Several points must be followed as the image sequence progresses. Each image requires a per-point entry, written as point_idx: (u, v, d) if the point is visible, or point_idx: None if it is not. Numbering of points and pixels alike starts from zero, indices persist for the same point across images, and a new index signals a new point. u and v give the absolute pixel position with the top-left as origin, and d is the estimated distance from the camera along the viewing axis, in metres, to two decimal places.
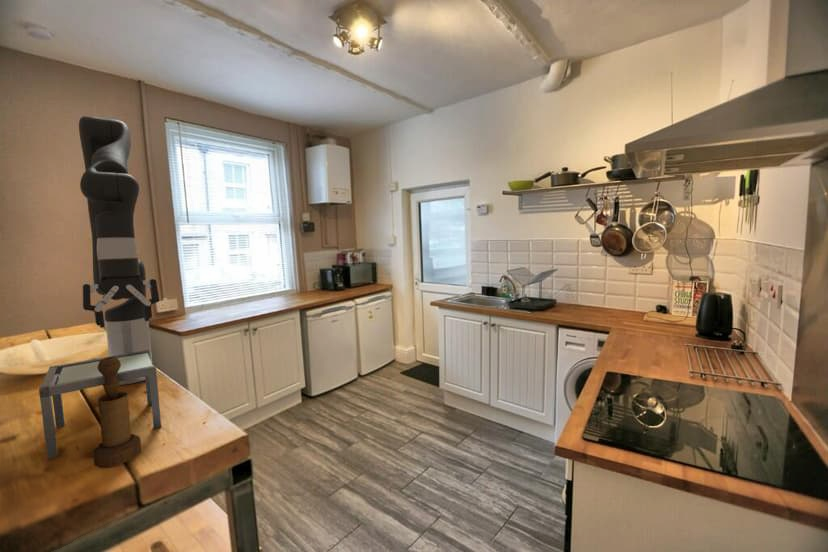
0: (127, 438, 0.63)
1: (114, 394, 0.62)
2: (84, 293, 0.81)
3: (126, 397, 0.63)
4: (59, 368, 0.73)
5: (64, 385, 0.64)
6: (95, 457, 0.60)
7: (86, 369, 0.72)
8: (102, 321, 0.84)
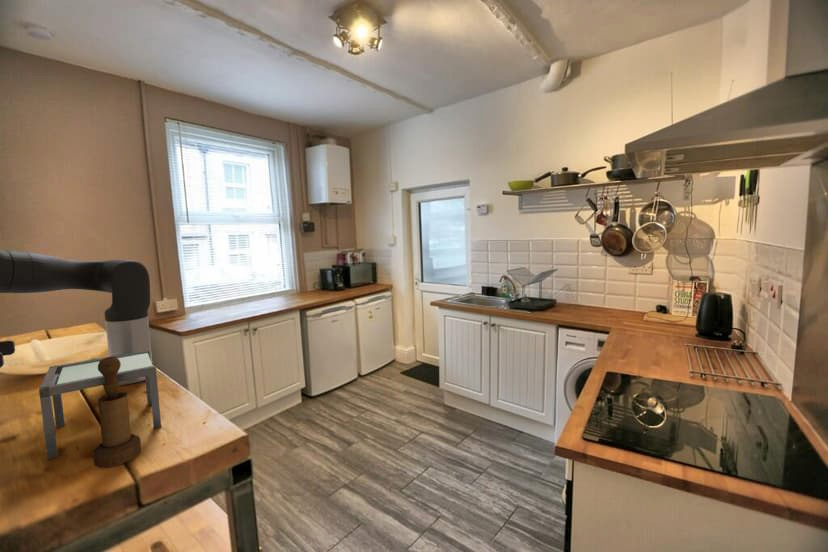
0: (127, 438, 0.63)
1: (114, 394, 0.62)
2: None
3: (126, 397, 0.63)
4: (59, 368, 0.73)
5: (64, 385, 0.64)
6: (95, 457, 0.60)
7: (86, 369, 0.72)
8: None
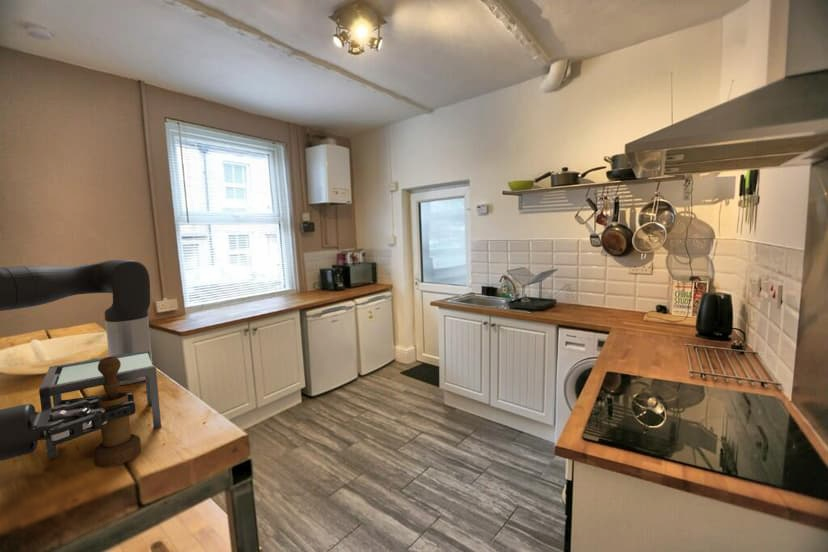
0: (127, 438, 0.63)
1: (114, 394, 0.62)
2: (69, 424, 0.55)
3: (126, 397, 0.63)
4: (59, 368, 0.73)
5: (64, 385, 0.64)
6: (95, 457, 0.60)
7: (86, 369, 0.72)
8: (124, 403, 0.62)
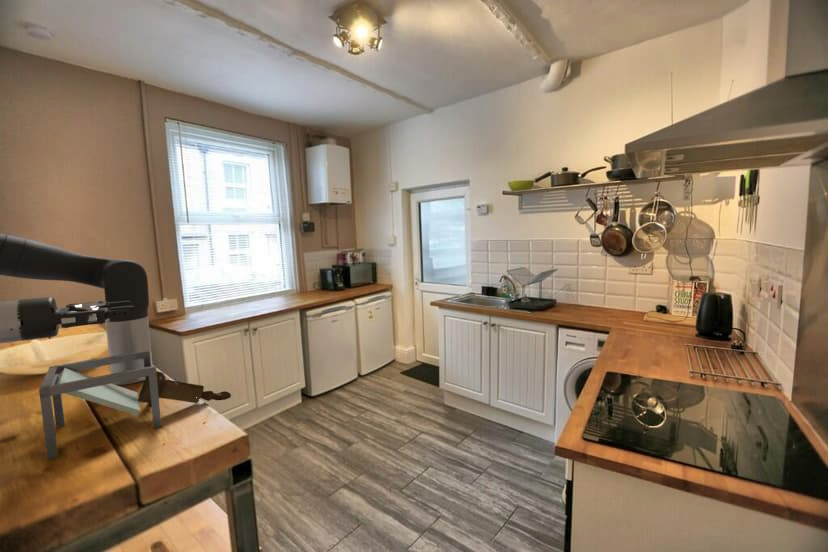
0: (161, 396, 0.78)
1: (202, 396, 0.84)
2: (76, 312, 0.65)
3: (194, 402, 0.83)
4: (59, 368, 0.73)
5: (64, 385, 0.64)
6: (160, 375, 0.78)
7: None
8: (124, 306, 0.71)
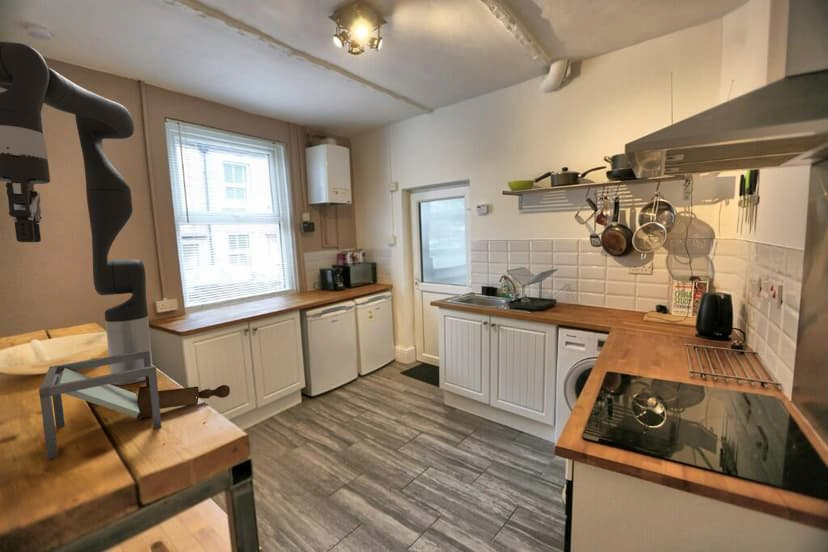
0: None
1: (200, 396, 0.84)
2: (27, 195, 0.64)
3: (195, 403, 0.83)
4: (59, 368, 0.73)
5: (64, 385, 0.64)
6: (149, 388, 0.78)
7: None
8: (33, 234, 0.67)
